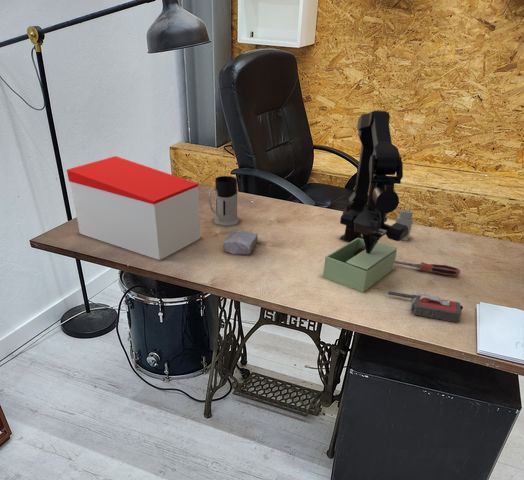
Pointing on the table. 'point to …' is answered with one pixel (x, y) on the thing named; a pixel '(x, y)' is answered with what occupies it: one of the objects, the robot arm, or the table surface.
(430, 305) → the walkie-talkie
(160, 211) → the red-lidded white box
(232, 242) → the stone block
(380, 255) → the flap
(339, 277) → the carton
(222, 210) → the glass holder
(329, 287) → the table surface
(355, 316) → the table surface
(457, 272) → the screwdriver
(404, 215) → the power adapter
